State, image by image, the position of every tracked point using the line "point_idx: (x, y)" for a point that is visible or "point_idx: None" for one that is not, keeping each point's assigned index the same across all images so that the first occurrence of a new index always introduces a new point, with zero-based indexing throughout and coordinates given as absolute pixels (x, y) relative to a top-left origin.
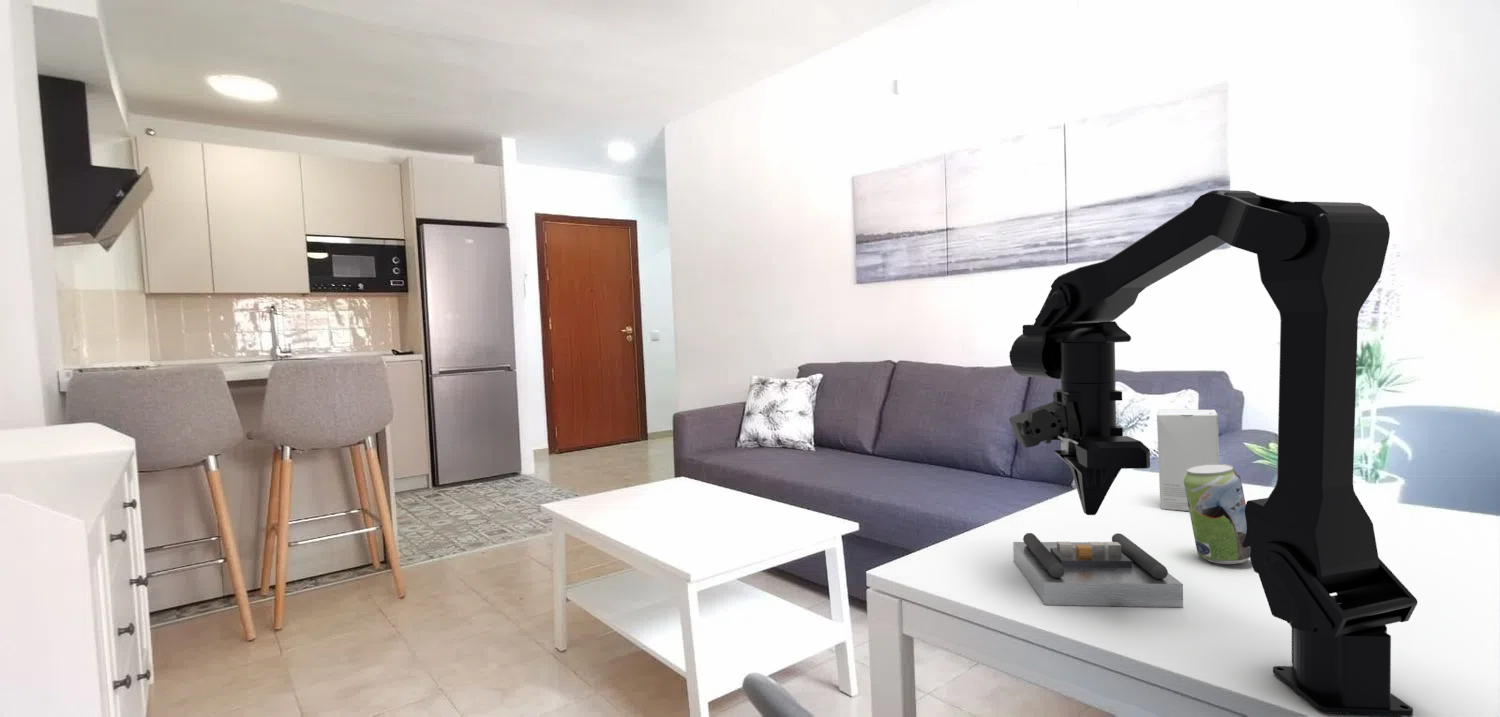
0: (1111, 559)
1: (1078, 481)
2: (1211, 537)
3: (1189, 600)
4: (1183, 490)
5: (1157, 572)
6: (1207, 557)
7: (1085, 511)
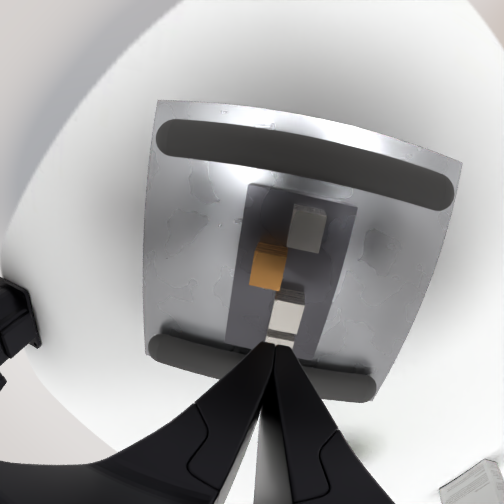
0: (239, 310)
1: (280, 447)
2: None
3: None
4: (470, 489)
5: (150, 339)
6: None
7: (260, 345)
